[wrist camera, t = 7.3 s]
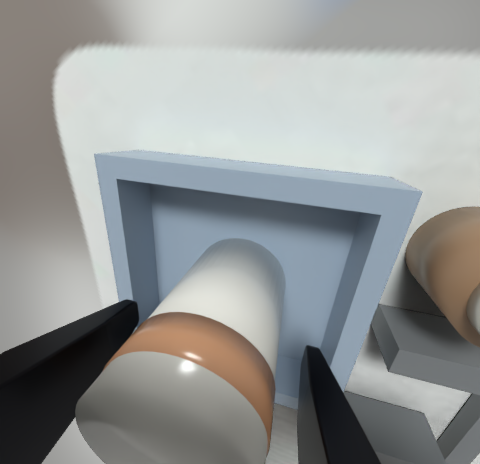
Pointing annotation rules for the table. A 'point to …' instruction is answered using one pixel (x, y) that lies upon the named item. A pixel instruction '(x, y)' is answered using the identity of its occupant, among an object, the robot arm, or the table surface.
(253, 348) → the cylinder
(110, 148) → the table surface
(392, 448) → the grey bar and blocks
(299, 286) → the tray
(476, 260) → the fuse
